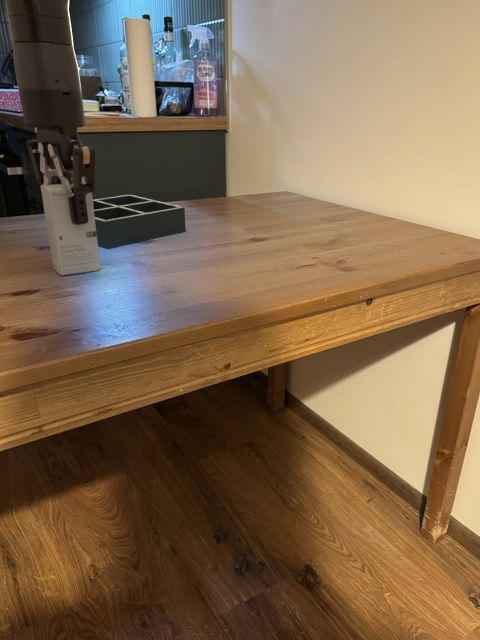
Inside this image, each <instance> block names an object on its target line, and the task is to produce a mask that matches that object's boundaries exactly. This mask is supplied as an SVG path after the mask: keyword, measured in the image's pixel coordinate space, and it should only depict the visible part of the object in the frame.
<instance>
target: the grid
mask: <svg viewBox="0 0 480 640" xmlns="http://www.w3.org/2000/svg"><path fill="white" fill-rule="evenodd" d="M93 207H94V216H95V225H96V233H97V242H98V247H102V248H105V249H112V248H116V247H117V246H118V247H121V245H122V246H125V245H126V244H127V245H131V244H134V243H139V242H144V241H148V240H153V239H157V238H162V237H167V236H171V235H176V234H180V233H184V232H186V231H187V230H186V229H187V228H186V210H185V206H181V205H176V204H171V203H168V202H164V201H160V200H156V199H155V200H154V199H151V198H147V197H143V196H139V195H134V194H124V195H118V196H110V197H105V198H104V197H103V198H96V199H93ZM127 245H126V246H127Z"/></svg>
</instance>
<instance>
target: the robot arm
mask: <svg viewBox="0 0 480 640" xmlns="http://www.w3.org/2000/svg"><path fill="white" fill-rule="evenodd" d="M4 1H5V9H6V14H7V20H8V25H9V31H10V36H11V42H12V50H13V51H12V52H13V66H14V72H15V77H16V82H17V88H18V95H19V100H20V106H21V111H22V117H23V123H24V124H25V125H26V127H29V128H33V129H35V128H36V139H28V140H26V147H27V150H28V153H29V154H28V155H29V158H30V160H31V164H32V168H33V171H34V175H35V178H36V182H37V184H38V185H40V186H41V185H53V184H65V187H66V190H67V193H68V196H69V197H68V201H69V208H70V214H71V221H72V223H73V224H76V225H80V224H86V223H87V222H88V213H87V206H86V195H88V193H92V194H93V193H95V191H96V150H95V148H94V147H93V146H84V145H83V144H82V142H81V138H80V136H79V132H78V129H79V128H83V127H85V125H86V118H85V117H86V116H85V111H84V110H85V109H84V102H83V93H82V85H81V78H80V77H81V76H80V70H79V65H78V61H77V56H76V52H75V47H74V40H73V39H74V38H73V32H72V24H71V16H70V11H69V10H70V9H69V8H70V0H4ZM85 177H86V179H85Z"/></svg>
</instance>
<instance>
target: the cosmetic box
mask: <svg viewBox="0 0 480 640" xmlns="http://www.w3.org/2000/svg"><path fill="white" fill-rule="evenodd" d="M40 191H41V196H42V197H41V198H42V204H43V212H44V217H45V224H46V231H47V235H48V236H47V237H48V243H49V250H50V256H51V261H52V267H53V269H54V270H55V271H56V273H57V274H58V275H59V276H68V275H74V274H83V273H89V272H90V273H91V272H96V271H99V270H101V262H100V252H99V245H98V242H97V233H96V225H95V216H94V207H93V200H94V199H93V192H92V193H88V195H86V206H87V213H88V222H87V223H86V224H80V225H76V224H73V223H72V221H71V214H70V208H69V201H68V197H69V196H68V193H67V190H66V187H65V184H53V185H43V184H41V185H40Z"/></svg>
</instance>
